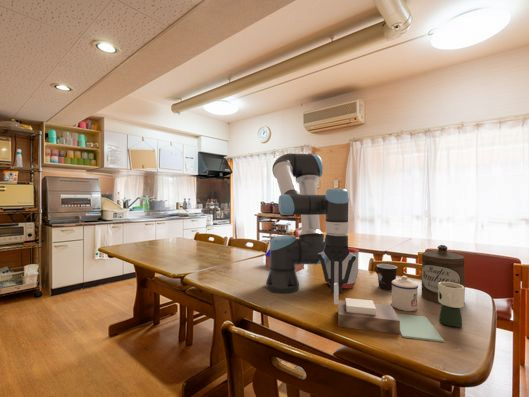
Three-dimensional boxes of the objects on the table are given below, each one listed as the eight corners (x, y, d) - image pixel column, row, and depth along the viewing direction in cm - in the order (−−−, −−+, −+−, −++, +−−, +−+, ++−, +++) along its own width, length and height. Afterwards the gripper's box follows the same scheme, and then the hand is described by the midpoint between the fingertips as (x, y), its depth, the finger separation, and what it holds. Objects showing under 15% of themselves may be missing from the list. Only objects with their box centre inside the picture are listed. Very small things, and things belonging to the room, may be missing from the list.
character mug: (439, 315, 96) (440, 278, 96) (464, 321, 92) (465, 283, 92) (435, 327, 88) (435, 286, 88) (462, 334, 83) (463, 291, 83)
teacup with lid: (417, 314, 98) (417, 281, 97) (389, 308, 102) (389, 277, 102) (419, 302, 108) (419, 273, 108) (393, 298, 113) (394, 269, 112)
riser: (338, 326, 88) (338, 314, 88) (337, 311, 99) (338, 300, 99) (399, 333, 83) (399, 320, 83) (391, 316, 95) (391, 305, 95)
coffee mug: (399, 292, 120) (399, 269, 120) (378, 290, 121) (378, 268, 121) (392, 283, 131) (392, 262, 131) (373, 282, 133) (373, 261, 133)
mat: (402, 337, 81) (402, 335, 81) (391, 314, 97) (391, 313, 97) (444, 342, 79) (444, 340, 79) (425, 318, 94) (425, 316, 94)
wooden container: (416, 298, 113) (417, 245, 112) (427, 289, 123) (427, 240, 123) (460, 309, 102) (461, 250, 102) (467, 298, 113) (468, 245, 112)
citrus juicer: (356, 280, 136) (357, 240, 136) (360, 292, 119) (361, 245, 119) (324, 278, 139) (324, 238, 139) (323, 288, 122) (324, 243, 122)
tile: (346, 311, 90) (346, 305, 90) (345, 303, 96) (345, 298, 96) (375, 314, 87) (375, 308, 87) (372, 306, 94) (372, 300, 94)
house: (292, 273, 147) (292, 252, 147) (264, 267, 161) (264, 247, 161) (304, 269, 156) (305, 249, 156) (277, 263, 170) (277, 244, 170)
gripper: (316, 234, 91) (316, 305, 92) (357, 236, 88) (357, 309, 88) (317, 232, 99) (317, 297, 99) (355, 233, 95) (355, 300, 96)
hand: (336, 302), depth 94 cm, fingers closed
